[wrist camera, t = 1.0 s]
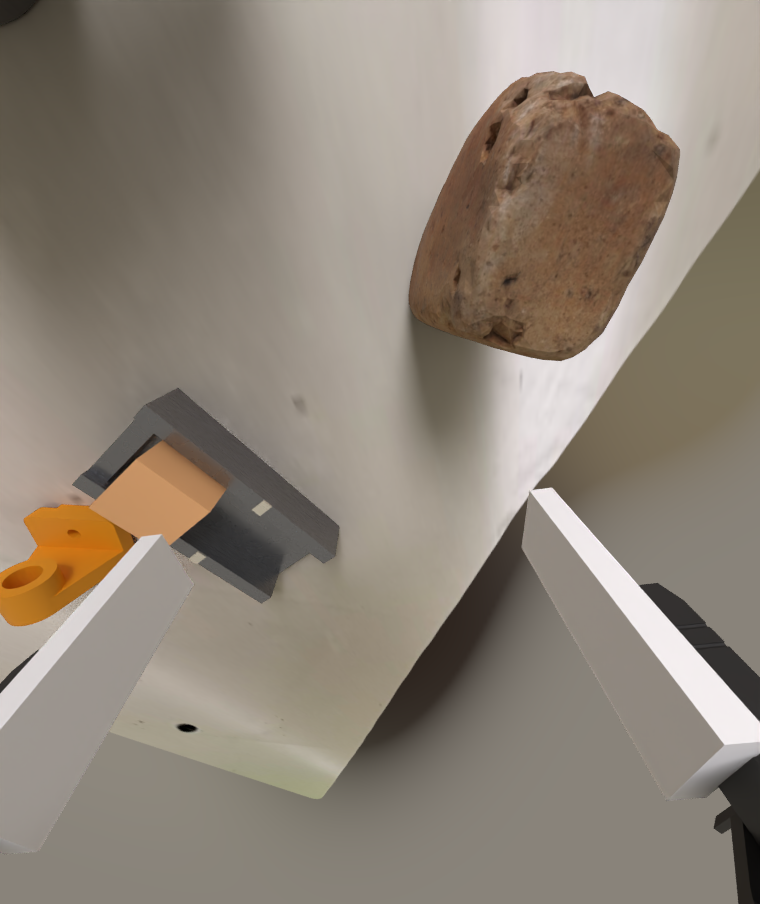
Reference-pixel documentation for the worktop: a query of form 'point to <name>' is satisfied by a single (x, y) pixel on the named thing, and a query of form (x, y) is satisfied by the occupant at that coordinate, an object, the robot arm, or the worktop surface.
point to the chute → (224, 497)
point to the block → (543, 218)
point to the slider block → (159, 495)
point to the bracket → (60, 562)
